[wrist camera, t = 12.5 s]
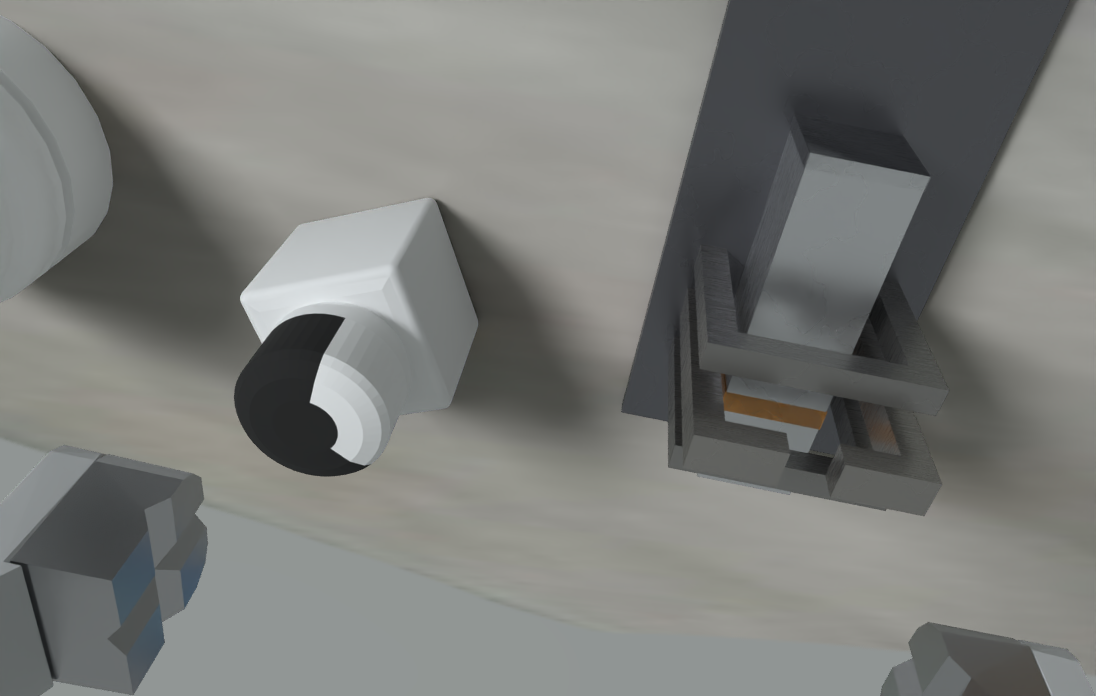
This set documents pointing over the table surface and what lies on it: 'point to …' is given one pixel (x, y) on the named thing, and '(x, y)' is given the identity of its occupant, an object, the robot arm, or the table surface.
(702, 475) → the orange-striped grey block
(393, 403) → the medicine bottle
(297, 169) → the table surface
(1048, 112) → the table surface
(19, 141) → the honey pot
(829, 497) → the rail
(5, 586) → the robot arm
